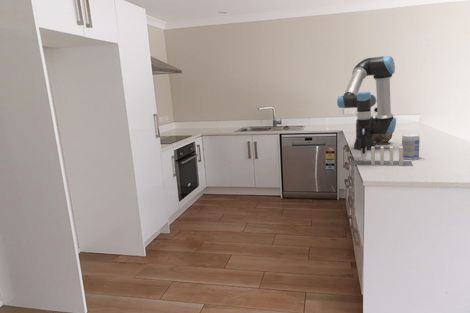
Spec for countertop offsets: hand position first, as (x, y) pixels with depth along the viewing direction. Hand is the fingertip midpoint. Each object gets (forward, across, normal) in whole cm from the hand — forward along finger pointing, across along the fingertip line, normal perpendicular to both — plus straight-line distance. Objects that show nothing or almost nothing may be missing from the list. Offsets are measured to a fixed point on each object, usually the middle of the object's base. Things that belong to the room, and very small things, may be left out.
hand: (363, 157), depth 207 cm
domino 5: (+4, 0, +20) cm, 20 cm away
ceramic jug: (+4, -72, +10) cm, 73 cm away
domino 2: (+4, 0, +5) cm, 6 cm away
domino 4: (+4, 0, +15) cm, 15 cm away
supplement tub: (+4, -17, +26) cm, 31 cm away
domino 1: (+1, 0, 0) cm, 1 cm away
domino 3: (+4, 0, +10) cm, 11 cm away
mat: (+4, -3, +9) cm, 10 cm away
